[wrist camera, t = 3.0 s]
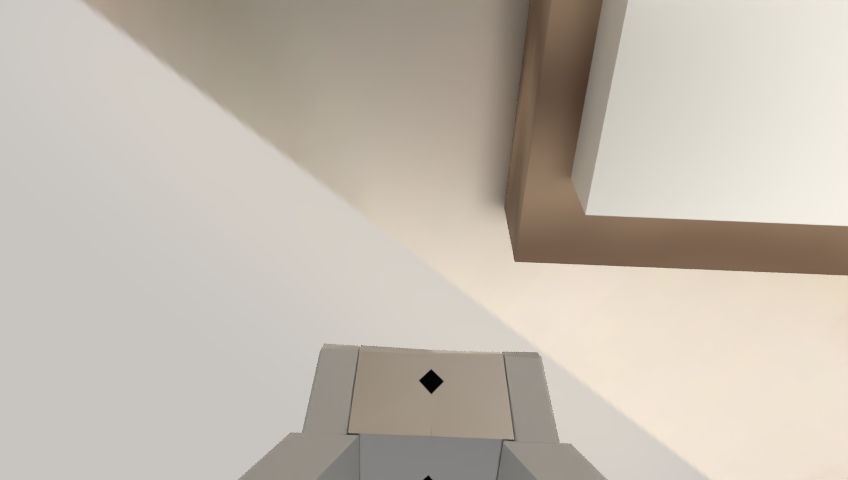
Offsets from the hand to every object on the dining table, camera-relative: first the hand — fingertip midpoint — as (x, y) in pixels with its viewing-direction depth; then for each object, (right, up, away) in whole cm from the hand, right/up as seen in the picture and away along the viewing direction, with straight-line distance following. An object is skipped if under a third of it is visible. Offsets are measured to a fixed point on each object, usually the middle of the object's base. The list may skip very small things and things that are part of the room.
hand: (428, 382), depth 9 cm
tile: (+10, +7, +11) cm, 16 cm away
